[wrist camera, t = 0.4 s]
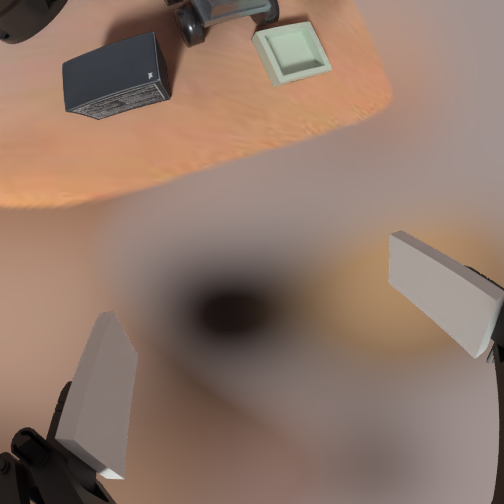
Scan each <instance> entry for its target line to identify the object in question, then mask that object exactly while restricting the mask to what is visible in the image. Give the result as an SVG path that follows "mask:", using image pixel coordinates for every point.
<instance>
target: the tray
mask: <svg viewBox="0 0 504 504" xmlns="http://www.w3.org/2000/svg"><path fill="white" fill-rule="evenodd" d="M252 42H253V44H254V46H255V48H256V50H257V52H258V54H259V56H260V58H261V60H262V63H263V65H264V67H265V69H266V71H267V73H268V76H269V78H270V80H271V82H272V85H273V87H277V86H280V85H284V84H287V83H290V82H294V81H298V80H301V79H305V78H309V77H313V76H317V75H321V74H324V73H326V72H328V71H330V70H332V68H331V65H330V63H329V61H328V58H327V56H326V54H325V52H324V50H323V48H322V45H321V43H320V41H319V39H318V37H317V35H316V33H315V31H314V29H313V27H312V25H311V23H310V21H309V22H302V23H296V24H290V25H285V26H280V27H275V28H271V29H266V30H262V31H258V32H256V33H255V34H254V36H253V38H252Z"/></svg>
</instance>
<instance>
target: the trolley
mask: <svg viewBox="0 0 504 504" xmlns="http://www.w3.org/2000/svg"><path fill="white" fill-rule="evenodd" d="M164 1H165V2H166V4H167V5H168V6H170V5H173V4H176V3H178V2H181V1H183V0H164ZM190 1H191V3H192V5H193V7H194V8H193V7H192V6H191V5H187V6H184V7H181V8H179V9H176V10H174V11H173V12H174V17H175V21H176V24H177V26H178V29H179V31H180V34H181V36H182V38H183V40H184V42H185V44H186V45H187V47H192V46H195V45H197V44H200V43H203V42H204V41H205V36H204V32H203V28H202V26H204V28H205V27H208V26H212V25H215V24H218V23H221V22H225V21H228V20H232V19H236V18H240V17H244V16H248V15H250V16H251V18H252V19H253V21H254V22H255V23H256V24H257V25H260V26H261V25H266V24H270V23H275V22H277V21H278V19H279V5H278V2H277V0H190ZM194 9H195V10H194Z"/></svg>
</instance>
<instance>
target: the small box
mask: <svg viewBox="0 0 504 504" xmlns="http://www.w3.org/2000/svg"><path fill="white" fill-rule="evenodd" d="M62 74H63V90H64V102H65V110H66V112H72V113H77V114H80V115H84V116H88V117H91V118H95V119H97V120H100V119H103V118H106V117H109V116H112V115H115V114H118V113H122V112H125V111H128V110H132V109H135V108H139V107H142V106H146V105H150V104H154V103H157V102H161V101H165V100H170V98H171V94H170V91H169V89H170V88H169V84H168V76H167V68H166V63H165V60H164V57H163V55H162V52H161V49H160V47H159V44H158V41H157V39H156V36H155V33H154V32H149V33H145V34H141V35H138V36H134V37H131V38H128V39H124V40H121V41H118V42H115V43H112V44H109V45H107V46H104V47H101V48H98V49H96V50H93V51H90V52H88V53H85V54H83V55H81V56H78V57H76V58H73V59H71V60H69V61H67V62H65V63H63V65H62Z"/></svg>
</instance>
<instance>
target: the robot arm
mask: <svg viewBox="0 0 504 504" xmlns="http://www.w3.org/2000/svg"><path fill="white" fill-rule="evenodd" d="M66 1H67V0H0V40H1V41H3V42H6V43H8V44H16V43H20V42H23V41H25V40H27V39H29V38H31V37H32V36H34V35H35V34H37V33H38V32H39V31H41V30H42V29H43V28H44V27H45V26H46V25H48V24H49V23H50V22H51V21H52V20H53V19H54V17H55V16H56V15H57V14H58V13H59V12H60V10H61V9H62V8H63V6H64V5H65V3H66ZM389 283H390V284H391V285H392V286H393V287H395V288H396V289H397V290H398V291H399V292H400V293H402V294H403V295H404V296H405V297H407V298H408V299H409V300H410V301H411V302H413V303H414V304H415V305H416V306H417V307H418V308H420V309H421V310H422V311H423V312H424V313H426V315H428V316H429V317H430V318H431V319H432V320H433V321H434V322H436V323H437V324H438V325H439V326H440V327H441V328H442V329H444V330H445V331H446V332H447V333H448V334H449V335H450V336H451V337H452V338H453V339H454V340H456V341H457V342H458V343H459V344H460V345H461V346H462V347H463V348H464V349H465V350H466V351H467V352H468V353H470V355H472V356H473V357H474V358H477V357H478V356H479V355H480V354H481V353H483V352H484V351H485V350H486V348H487V346H488V343H489V341H490V338H491V339H492V340H493V341H494V344H493V346H492V349H491V351H490V353H489V356H488V358H487V363H489V361H490V359H491V357H492V356H493V355H494V358H493V361H492V363H495V369H496V377H497V387H498V399H499V427H500V428H499V429H500V430H499V455H498V467H497V476H496V485H495V491H494V496H493V501H492V503H491V504H504V288H503V287H501V286H500V285H498V284H496V283H495V282H494V281H492V280H490V279H489V278H488V279H487V277H486V276H484V275H482V274H480V273H479V272H478V271H476V270H474V269H473V268H471V267H468V266H465V265H462V264H461V263H459V262H457V261H456V260H454V259H452V258H450V257H449V256H447V255H445V254H443V253H442V252H440V251H438V250H436V249H434V248H433V247H431V246H429V245H427V244H426V243H424V242H422V241H420V240H418V239H416V238H414V237H413V236H411V235H409V234H407V233H405V232H403V231H398V232H395V233H392V234H390V261H389ZM137 360H138V355H137V353H136V351H135V349H134V348H133V346H132V344H131V342H130V341H129V339H128V337H127V335H126V333H125V332H124V330H123V328H122V326H121V324H120V322H119V320H118V318H117V317H116V314H115V312H114V311H113V310H112V311H108V312H104V313H100V314H99V316H98V318H97V320H96V322H95V325H94V327H93V329H92V332H91V334H90V336H89V339H88V341H87V344H86V346H85V349H84V351H83V354H82V356H81V359H80V362H79V364H78V367H77V370H76V372H75V375H74V378H73V381H70V382H68V383H67V384H66V385H65V387H64V388H63V390H62V391H61V393H60V396H59V399H58V404H57V405H56V408H55V412H54V414H53V417H52V421H51V424H50V428H49V431H48V434H47V438H46V440H45V439H44V438H42V436H40V435H39V434H38V433H37V432H36V431H35V430H34V429H32V428H30V427H28V428H23V429H21V430H19V431H18V432H17V433H16V434H15V436H14V438H13V439H12V443H11V452H12V453H13V454H14V455H16V456H17V457H18V458H19V459H20V460H17V459H16V458H15V457H14V456H12V455H11V454H10V453H7V452H4V453H1V454H0V504H30V501H32V502H34V503H35V504H116V503H115V501H114V500H113V499H112V497H111V496H110V495H109V494H108V492H107V491H106V490H105V488H104V487H103V485H102V484H101V483H100V482H99V481H98V480H97V479H96V472H98V473H99V474H101V475H102V476H104V477H105V478H109V479H124V478H125V477H124V476H125V460H126V459H125V458H126V446H127V434H128V425H129V416H130V407H131V399H132V392H133V385H134V379H135V371H136V366H137Z"/></svg>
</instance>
